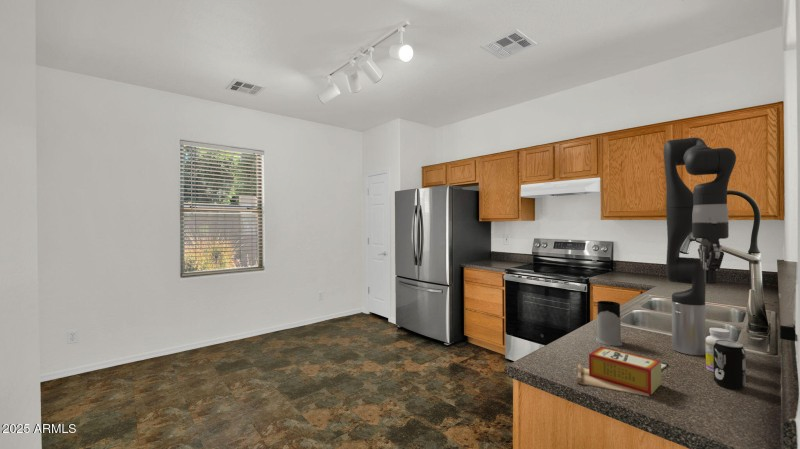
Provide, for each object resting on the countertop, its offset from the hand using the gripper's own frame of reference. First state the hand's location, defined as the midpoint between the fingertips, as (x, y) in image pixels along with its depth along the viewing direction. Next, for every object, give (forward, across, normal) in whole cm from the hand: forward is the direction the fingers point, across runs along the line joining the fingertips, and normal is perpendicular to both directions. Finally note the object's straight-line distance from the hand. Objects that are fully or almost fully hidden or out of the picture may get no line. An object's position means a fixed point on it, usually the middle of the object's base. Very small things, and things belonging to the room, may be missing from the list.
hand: (710, 283), depth 98 cm
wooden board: (+29, +7, -24) cm, 39 cm away
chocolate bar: (+30, -14, -17) cm, 37 cm away
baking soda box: (+25, +8, -14) cm, 30 cm away
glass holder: (+29, -34, -22) cm, 50 cm away
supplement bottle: (+29, -15, +6) cm, 33 cm away
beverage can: (+29, -4, +5) cm, 30 cm away
